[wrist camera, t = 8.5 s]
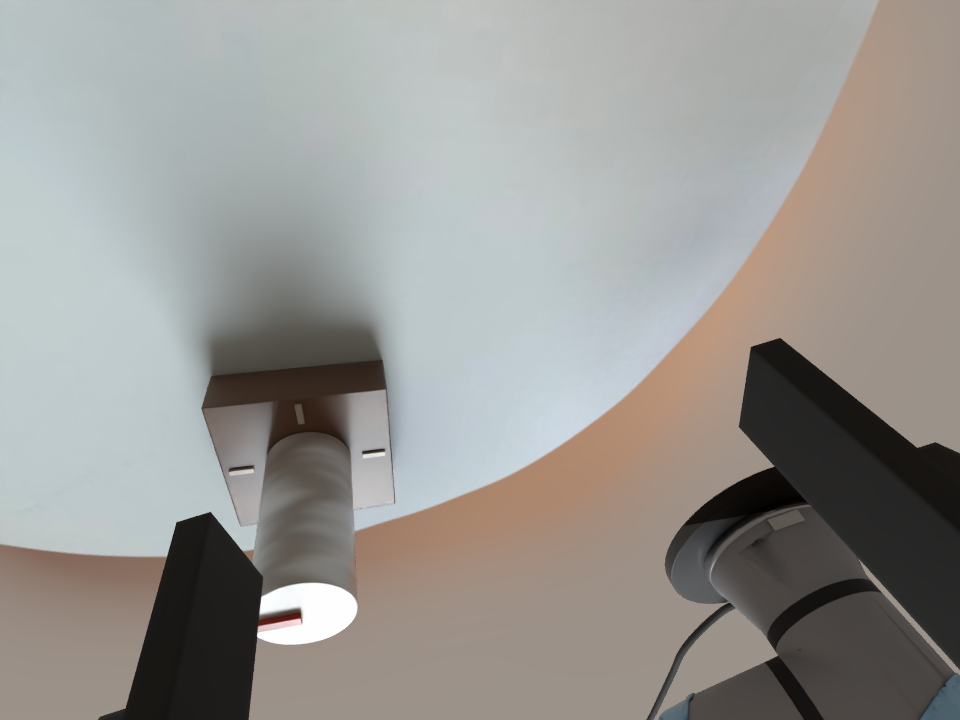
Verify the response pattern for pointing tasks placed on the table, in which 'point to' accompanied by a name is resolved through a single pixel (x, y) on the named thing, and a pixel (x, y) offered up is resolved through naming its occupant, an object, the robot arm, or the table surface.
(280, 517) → the tap knob
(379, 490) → the panel
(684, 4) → the table surface
